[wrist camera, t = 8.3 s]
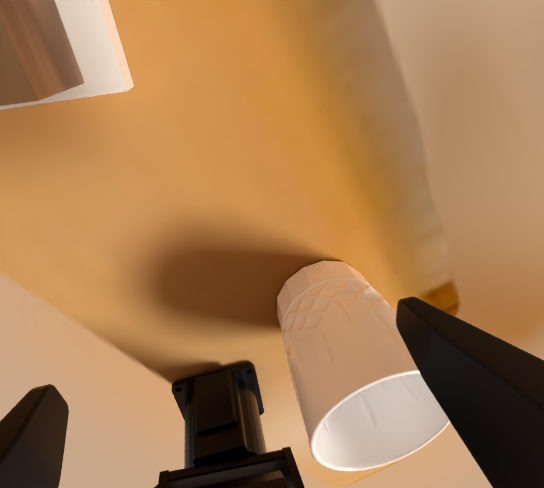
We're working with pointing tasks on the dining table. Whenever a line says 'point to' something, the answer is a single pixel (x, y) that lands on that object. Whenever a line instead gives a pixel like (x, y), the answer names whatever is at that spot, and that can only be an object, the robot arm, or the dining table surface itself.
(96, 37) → the l-shaped block
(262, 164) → the dining table surface
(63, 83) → the walnut cube
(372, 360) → the white cup
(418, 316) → the robot arm
